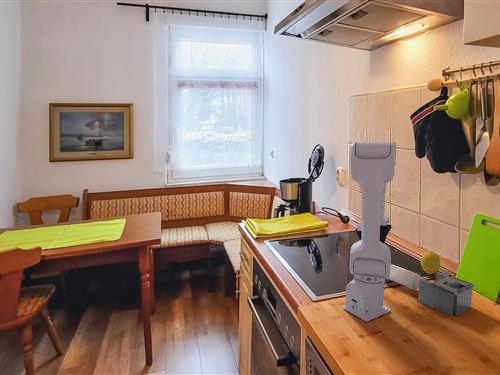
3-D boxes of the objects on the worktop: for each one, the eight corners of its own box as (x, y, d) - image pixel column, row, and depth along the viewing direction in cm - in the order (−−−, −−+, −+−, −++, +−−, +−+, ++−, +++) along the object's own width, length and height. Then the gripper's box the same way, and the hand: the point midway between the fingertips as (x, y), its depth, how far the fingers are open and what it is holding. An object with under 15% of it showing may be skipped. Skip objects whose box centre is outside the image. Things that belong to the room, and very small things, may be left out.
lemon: (442, 278, 104) (443, 254, 103) (423, 277, 106) (424, 253, 104) (436, 271, 110) (437, 248, 109) (418, 270, 111) (419, 247, 110)
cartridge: (421, 287, 97) (422, 271, 96) (410, 292, 95) (411, 275, 94) (391, 276, 106) (392, 261, 105) (381, 279, 103) (381, 264, 102)
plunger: (461, 290, 86) (461, 283, 86) (455, 292, 85) (455, 285, 84) (450, 286, 88) (450, 279, 88) (444, 288, 87) (444, 281, 87)
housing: (472, 307, 87) (474, 284, 86) (453, 317, 83) (455, 293, 82) (436, 293, 95) (438, 271, 94) (417, 301, 91) (419, 279, 90)
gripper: (372, 212, 94) (371, 258, 96) (399, 205, 103) (397, 247, 105) (351, 208, 100) (350, 251, 102) (378, 202, 109) (377, 241, 111)
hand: (373, 249), depth 104 cm, fingers open, 7 cm apart
